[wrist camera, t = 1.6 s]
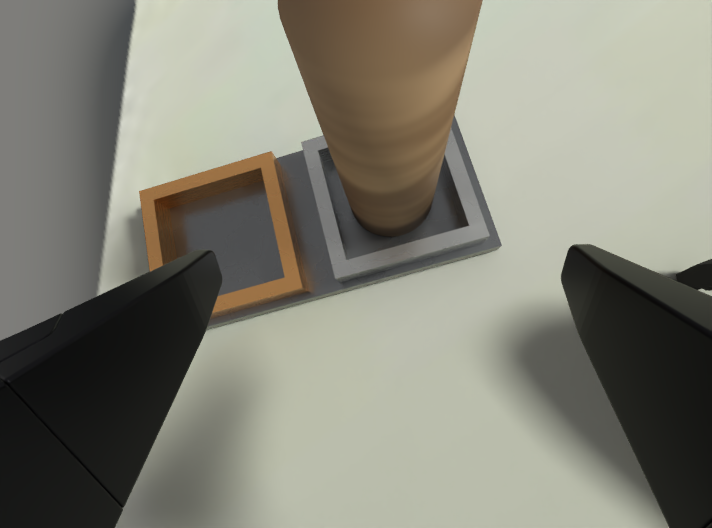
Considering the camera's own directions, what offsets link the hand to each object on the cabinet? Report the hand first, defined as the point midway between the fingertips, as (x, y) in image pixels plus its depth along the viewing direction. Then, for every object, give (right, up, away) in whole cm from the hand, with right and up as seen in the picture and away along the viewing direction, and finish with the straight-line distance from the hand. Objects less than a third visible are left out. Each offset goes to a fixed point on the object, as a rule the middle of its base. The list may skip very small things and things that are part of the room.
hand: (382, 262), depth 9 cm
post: (+1, +4, +12) cm, 12 cm away
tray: (-3, +2, +13) cm, 14 cm away
